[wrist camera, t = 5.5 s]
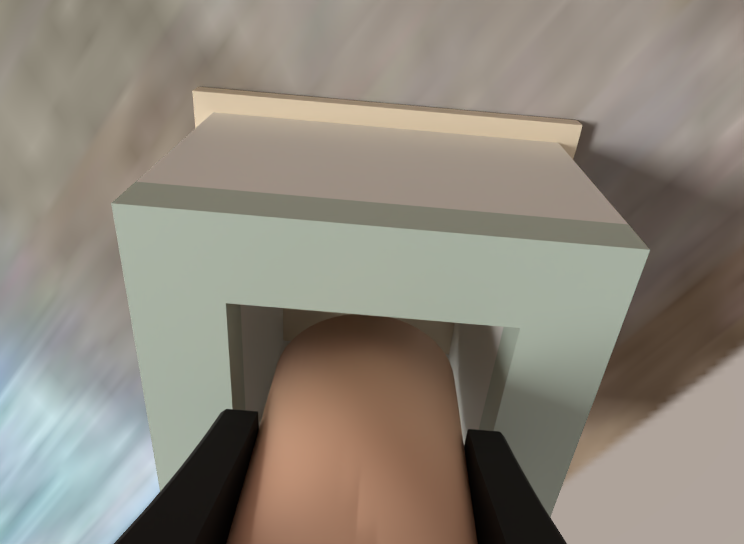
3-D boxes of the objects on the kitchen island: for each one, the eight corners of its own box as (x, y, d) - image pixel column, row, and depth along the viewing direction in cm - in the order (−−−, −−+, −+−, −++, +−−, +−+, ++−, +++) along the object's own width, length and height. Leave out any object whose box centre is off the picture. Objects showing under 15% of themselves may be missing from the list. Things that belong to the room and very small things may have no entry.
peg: (442, 457, 13) (472, 778, 8) (276, 445, 13) (200, 760, 8) (467, 321, 11) (530, 633, 6) (272, 306, 11) (170, 606, 6)
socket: (502, 402, 20) (545, 582, 14) (220, 378, 20) (150, 550, 14) (577, 120, 15) (691, 225, 9) (198, 86, 15) (75, 171, 9)
